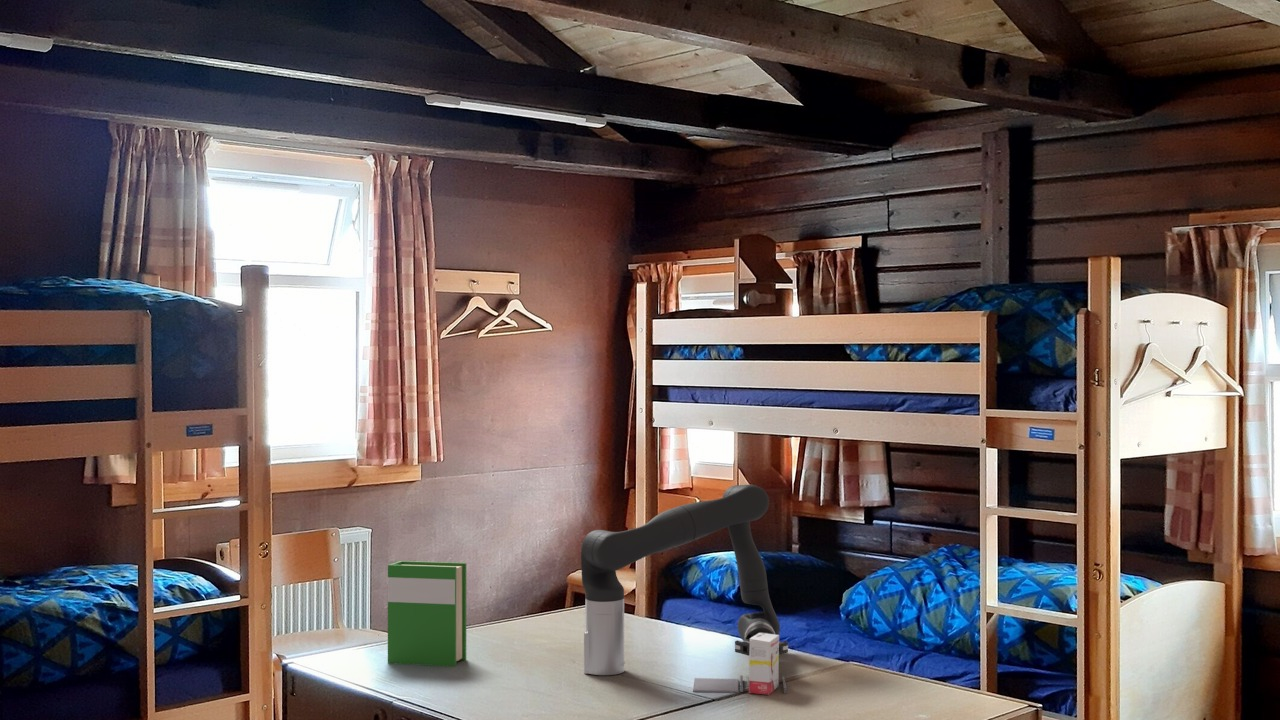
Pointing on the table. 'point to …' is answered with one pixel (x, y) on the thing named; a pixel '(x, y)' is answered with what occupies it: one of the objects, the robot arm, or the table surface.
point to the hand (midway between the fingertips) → (762, 654)
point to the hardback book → (426, 613)
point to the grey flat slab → (721, 685)
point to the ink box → (764, 663)
